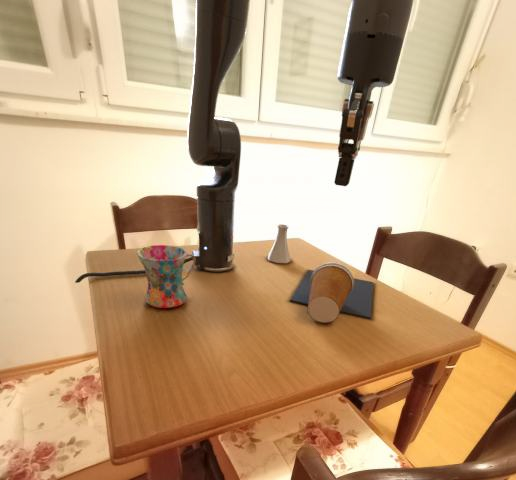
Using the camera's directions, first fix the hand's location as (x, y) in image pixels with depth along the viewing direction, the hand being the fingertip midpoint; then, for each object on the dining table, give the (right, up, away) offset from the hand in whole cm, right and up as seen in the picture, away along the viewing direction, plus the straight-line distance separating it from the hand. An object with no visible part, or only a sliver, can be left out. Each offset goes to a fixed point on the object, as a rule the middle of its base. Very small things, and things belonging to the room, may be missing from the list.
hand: (341, 185), depth 50 cm
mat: (+6, -12, +28) cm, 31 cm away
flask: (-7, 0, +45) cm, 45 cm away
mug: (-32, -16, +17) cm, 40 cm away
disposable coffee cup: (-1, -19, +12) cm, 22 cm away
